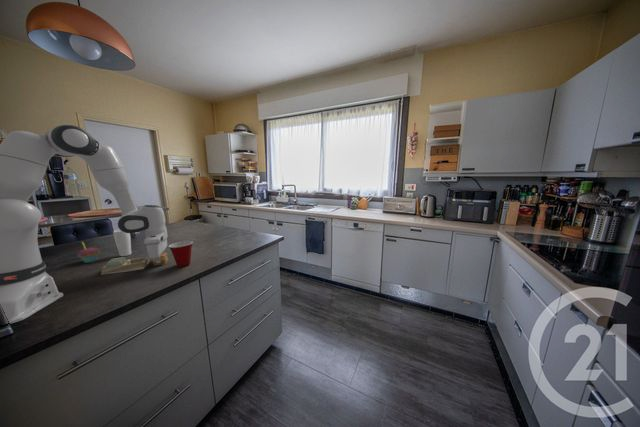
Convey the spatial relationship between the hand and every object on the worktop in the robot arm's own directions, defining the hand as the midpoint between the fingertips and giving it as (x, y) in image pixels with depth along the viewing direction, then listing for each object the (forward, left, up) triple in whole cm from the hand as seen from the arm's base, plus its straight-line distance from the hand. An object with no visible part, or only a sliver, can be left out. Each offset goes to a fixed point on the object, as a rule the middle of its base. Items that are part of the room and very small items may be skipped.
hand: (160, 260), depth 112 cm
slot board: (0, +14, -2) cm, 14 cm away
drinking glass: (+22, +22, -2) cm, 31 cm away
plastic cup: (-7, -11, -2) cm, 13 cm away
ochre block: (0, 0, -2) cm, 2 cm away
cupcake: (+19, +36, -2) cm, 41 cm away
